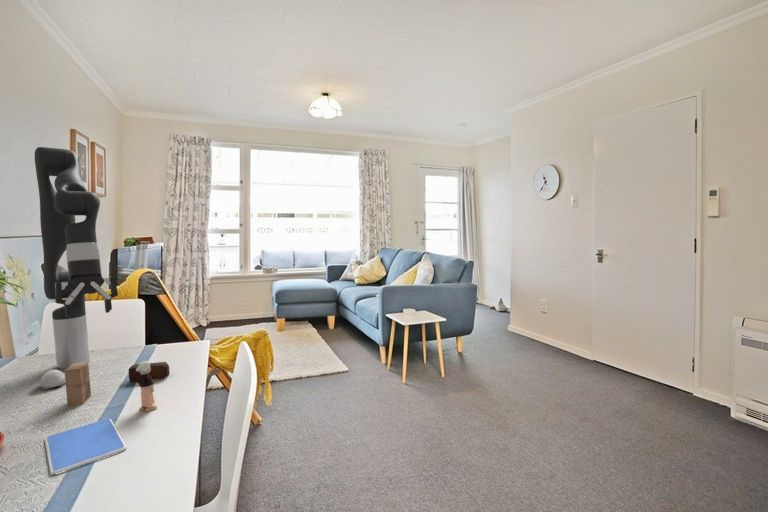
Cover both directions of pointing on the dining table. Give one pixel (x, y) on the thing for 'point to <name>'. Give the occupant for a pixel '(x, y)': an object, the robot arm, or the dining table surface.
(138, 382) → the grandmother figurine
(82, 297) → the robot arm
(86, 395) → the marked cardboard box
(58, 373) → the white seashell
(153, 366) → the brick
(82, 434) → the tablet computer
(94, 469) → the dining table surface
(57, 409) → the dining table surface
